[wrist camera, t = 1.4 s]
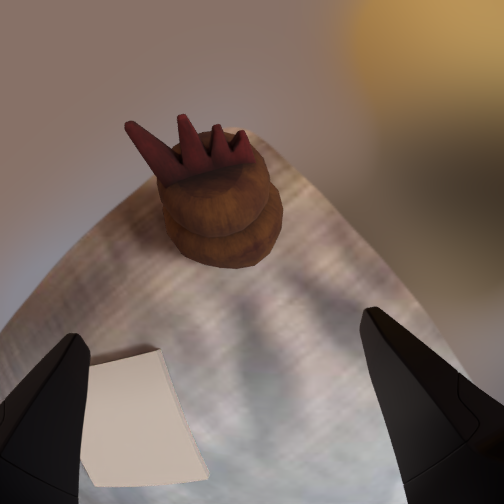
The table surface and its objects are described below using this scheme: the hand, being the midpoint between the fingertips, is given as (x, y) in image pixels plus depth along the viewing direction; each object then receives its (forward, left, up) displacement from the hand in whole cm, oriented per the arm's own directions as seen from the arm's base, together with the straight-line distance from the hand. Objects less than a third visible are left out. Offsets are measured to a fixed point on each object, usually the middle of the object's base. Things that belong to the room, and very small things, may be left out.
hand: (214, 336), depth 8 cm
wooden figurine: (+6, -1, -13) cm, 15 cm away
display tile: (-6, +12, -13) cm, 18 cm away
